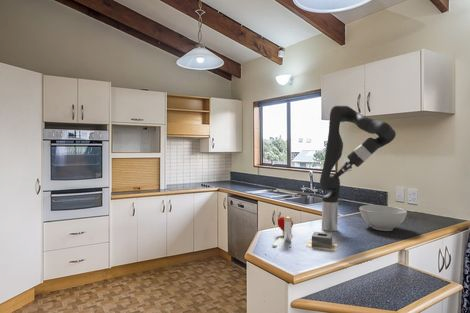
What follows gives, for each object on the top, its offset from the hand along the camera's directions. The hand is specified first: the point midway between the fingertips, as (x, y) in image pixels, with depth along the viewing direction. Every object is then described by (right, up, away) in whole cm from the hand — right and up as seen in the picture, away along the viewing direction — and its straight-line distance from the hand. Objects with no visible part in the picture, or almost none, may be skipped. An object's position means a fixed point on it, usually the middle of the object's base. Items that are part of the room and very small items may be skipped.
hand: (335, 177), depth 161 cm
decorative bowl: (+40, -34, +33) cm, 62 cm away
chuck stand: (-9, -35, -6) cm, 36 cm away
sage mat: (-25, -34, -2) cm, 43 cm away
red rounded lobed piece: (-24, -34, +15) cm, 44 cm away
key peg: (-25, -33, -2) cm, 42 cm away
